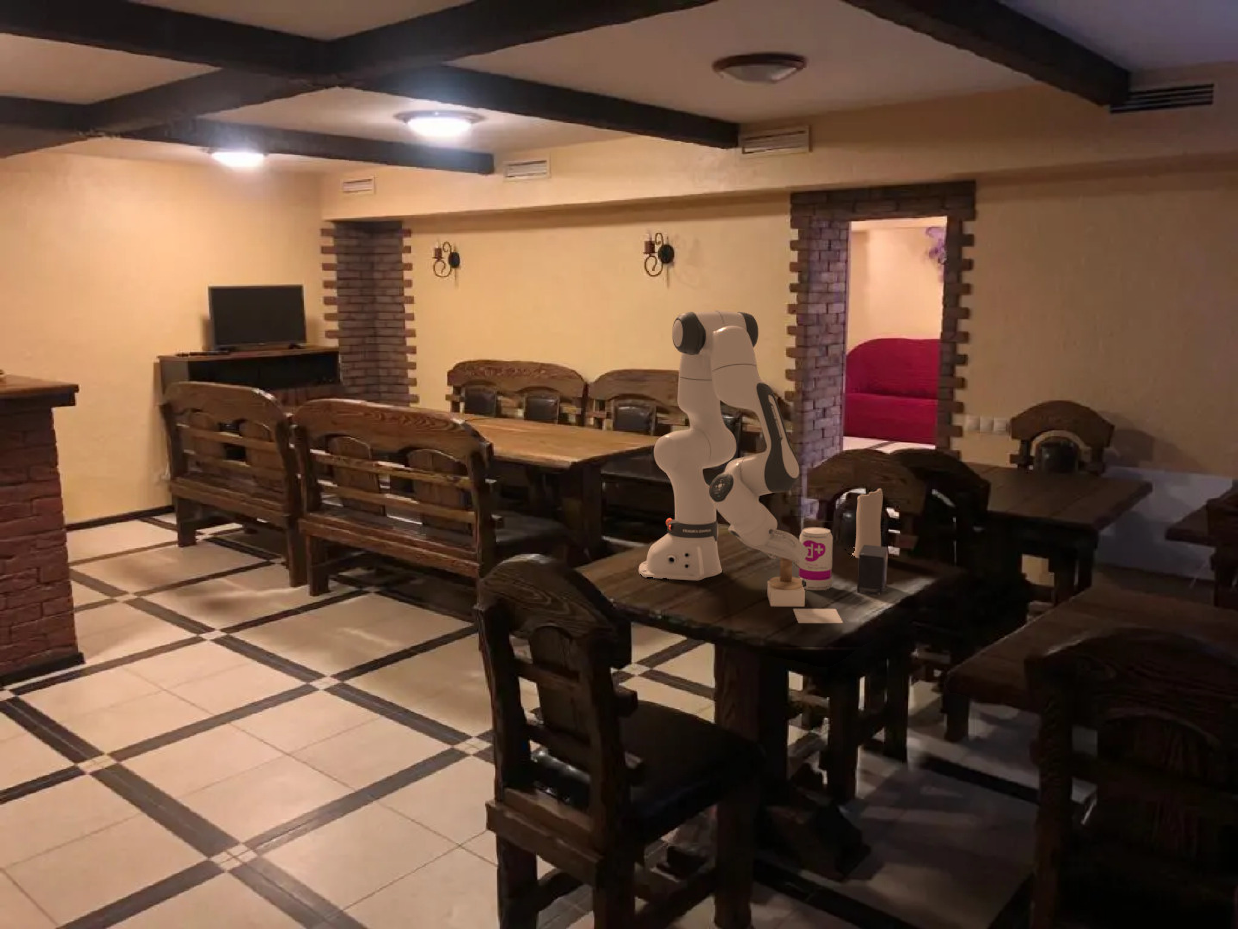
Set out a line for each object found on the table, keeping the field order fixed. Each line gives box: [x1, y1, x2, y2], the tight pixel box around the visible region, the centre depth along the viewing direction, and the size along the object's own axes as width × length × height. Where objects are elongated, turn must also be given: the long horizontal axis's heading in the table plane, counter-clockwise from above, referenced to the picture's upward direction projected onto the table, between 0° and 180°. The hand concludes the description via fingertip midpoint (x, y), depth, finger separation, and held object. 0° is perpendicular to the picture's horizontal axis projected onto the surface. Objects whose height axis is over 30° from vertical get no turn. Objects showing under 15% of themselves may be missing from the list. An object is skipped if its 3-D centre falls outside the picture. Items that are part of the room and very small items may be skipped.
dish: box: [767, 580, 806, 607], centre depth 240 cm, size 8×8×4 cm
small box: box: [856, 545, 889, 595], centre depth 249 cm, size 11×6×10 cm, turn 160°
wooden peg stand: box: [769, 557, 802, 590], centre depth 239 cm, size 8×8×8 cm
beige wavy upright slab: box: [851, 487, 884, 559], centre depth 283 cm, size 7×14×20 cm, turn 19°
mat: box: [792, 608, 844, 624], centre depth 229 cm, size 10×10×1 cm
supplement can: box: [798, 526, 834, 591], centre depth 252 cm, size 8×8×15 cm
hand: (788, 560), depth 239 cm, fingers open, 8 cm apart
